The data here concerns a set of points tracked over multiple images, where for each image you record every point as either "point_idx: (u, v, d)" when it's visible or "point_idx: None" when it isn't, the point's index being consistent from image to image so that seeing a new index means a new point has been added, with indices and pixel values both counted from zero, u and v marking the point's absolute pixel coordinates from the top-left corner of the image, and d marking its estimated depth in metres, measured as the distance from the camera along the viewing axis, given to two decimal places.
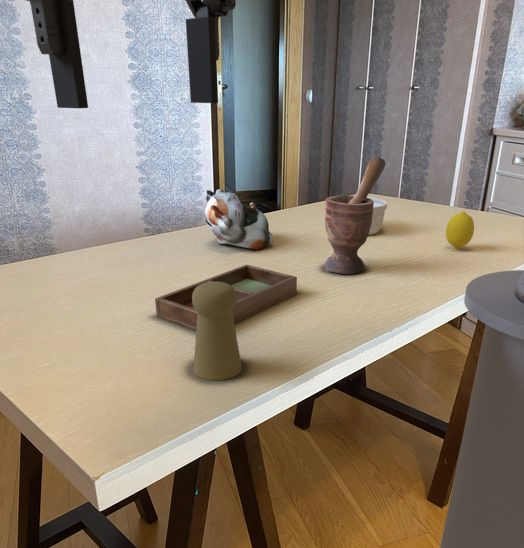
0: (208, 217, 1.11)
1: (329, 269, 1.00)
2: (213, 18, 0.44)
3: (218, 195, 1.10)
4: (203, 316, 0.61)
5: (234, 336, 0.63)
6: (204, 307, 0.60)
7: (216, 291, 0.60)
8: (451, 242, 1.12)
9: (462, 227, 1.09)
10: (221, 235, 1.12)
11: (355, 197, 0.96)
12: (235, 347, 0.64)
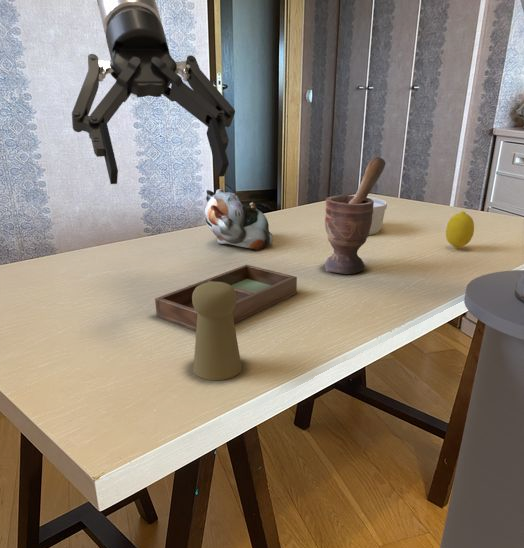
0: (208, 217, 1.11)
1: (329, 269, 1.00)
2: (215, 119, 0.67)
3: (218, 195, 1.10)
4: (203, 316, 0.61)
5: (234, 336, 0.63)
6: (204, 307, 0.60)
7: (216, 291, 0.60)
8: (451, 242, 1.12)
9: (462, 227, 1.09)
10: (221, 235, 1.12)
11: (355, 197, 0.96)
12: (235, 347, 0.64)
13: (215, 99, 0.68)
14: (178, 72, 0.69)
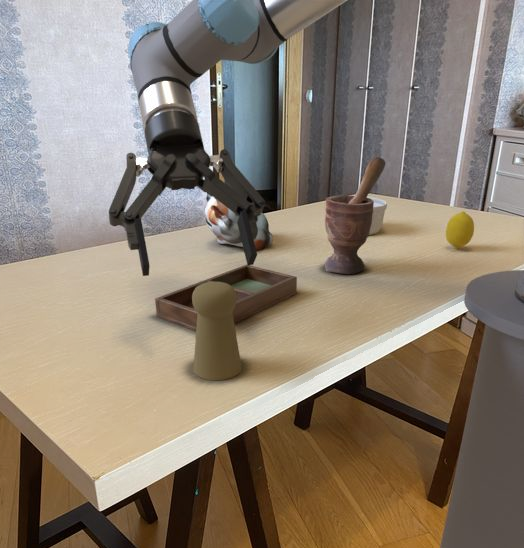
0: (208, 217, 1.11)
1: (329, 269, 1.00)
2: (245, 211, 0.69)
3: None
4: (203, 316, 0.61)
5: (234, 336, 0.63)
6: (204, 307, 0.60)
7: (216, 291, 0.60)
8: (451, 242, 1.12)
9: (462, 227, 1.09)
10: (221, 235, 1.12)
11: (355, 197, 0.96)
12: (235, 347, 0.64)
13: (246, 191, 0.71)
14: (212, 165, 0.72)
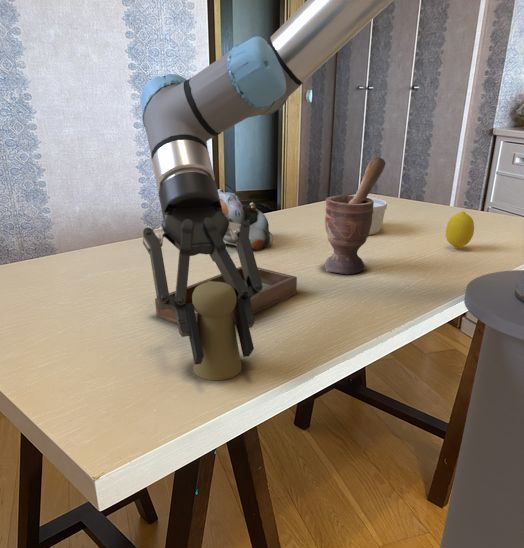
0: None
1: (329, 269, 1.00)
2: (240, 298, 0.63)
3: None
4: (203, 316, 0.61)
5: (234, 336, 0.63)
6: (204, 307, 0.60)
7: (216, 291, 0.60)
8: (451, 242, 1.12)
9: (462, 227, 1.09)
10: None
11: (355, 197, 0.96)
12: (235, 347, 0.64)
13: (248, 270, 0.65)
14: (229, 231, 0.68)
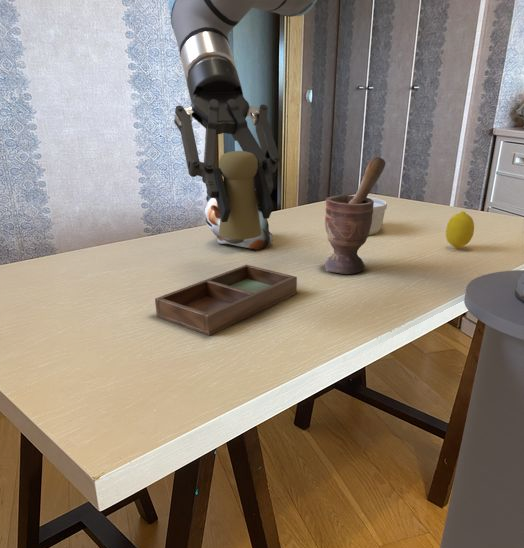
0: (208, 217, 1.11)
1: (329, 269, 1.00)
2: (261, 166, 0.72)
3: None
4: (229, 179, 0.70)
5: (255, 200, 0.72)
6: (230, 168, 0.69)
7: (241, 154, 0.69)
8: (451, 242, 1.12)
9: (462, 227, 1.09)
10: None
11: (355, 197, 0.96)
12: (256, 211, 0.73)
13: (267, 144, 0.74)
14: (249, 115, 0.76)
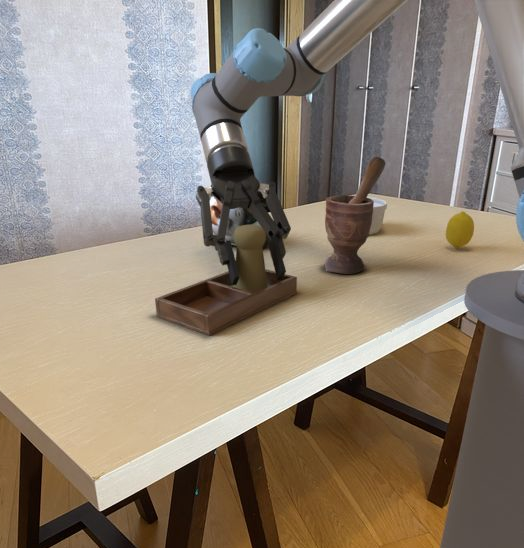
0: None
1: (329, 269, 1.00)
2: (275, 236, 0.86)
3: None
4: (242, 249, 0.84)
5: (263, 265, 0.86)
6: (243, 241, 0.82)
7: (252, 230, 0.82)
8: (451, 242, 1.12)
9: (462, 227, 1.09)
10: None
11: (355, 197, 0.96)
12: (264, 274, 0.86)
13: (279, 217, 0.88)
14: (260, 190, 0.90)
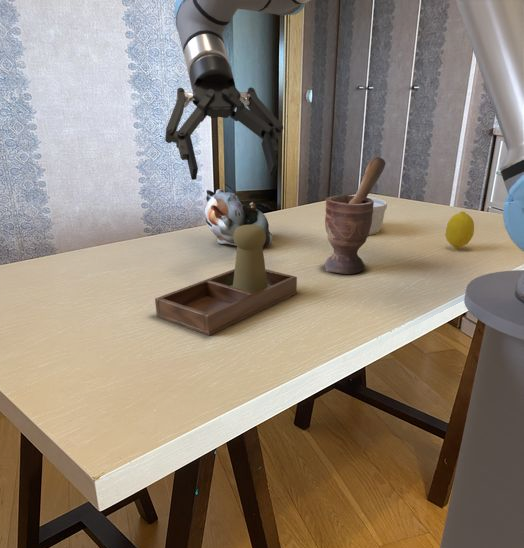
0: (208, 217, 1.11)
1: (329, 269, 1.00)
2: (268, 133, 0.90)
3: (218, 195, 1.10)
4: (242, 248, 0.84)
5: (263, 265, 0.86)
6: (243, 241, 0.82)
7: (252, 230, 0.82)
8: (451, 242, 1.12)
9: (462, 227, 1.09)
10: (221, 235, 1.12)
11: (355, 197, 0.96)
12: (264, 274, 0.86)
13: (268, 118, 0.91)
14: (241, 100, 0.93)
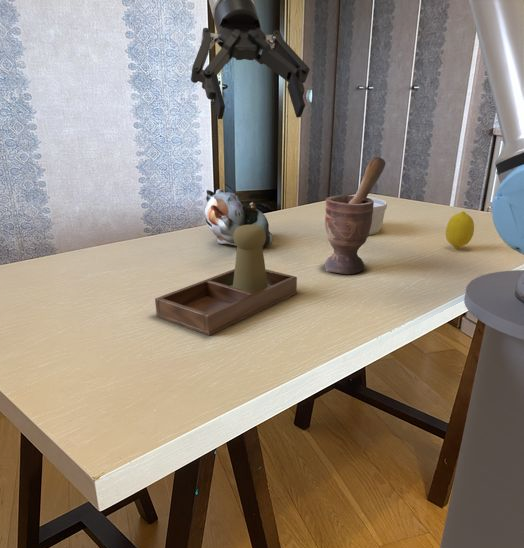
0: (208, 217, 1.11)
1: (329, 269, 1.00)
2: (294, 74, 0.89)
3: (218, 195, 1.10)
4: (242, 249, 0.84)
5: (263, 265, 0.86)
6: (243, 241, 0.82)
7: (252, 230, 0.82)
8: (451, 242, 1.12)
9: (462, 227, 1.09)
10: (221, 235, 1.12)
11: (355, 197, 0.96)
12: (264, 274, 0.86)
13: (294, 60, 0.90)
14: (266, 42, 0.92)
